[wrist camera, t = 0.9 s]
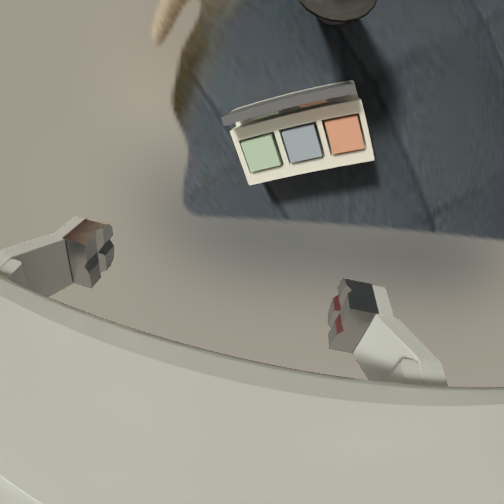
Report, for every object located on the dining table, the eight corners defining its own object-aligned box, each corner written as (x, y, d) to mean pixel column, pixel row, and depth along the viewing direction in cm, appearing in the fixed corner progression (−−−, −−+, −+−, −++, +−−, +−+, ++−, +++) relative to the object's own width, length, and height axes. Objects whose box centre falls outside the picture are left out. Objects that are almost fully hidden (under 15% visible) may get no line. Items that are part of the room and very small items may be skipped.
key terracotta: (355, 114, 30) (357, 116, 29) (362, 144, 32) (364, 148, 31) (324, 120, 32) (324, 123, 30) (332, 149, 33) (332, 154, 32)
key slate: (314, 122, 32) (313, 125, 30) (322, 151, 34) (322, 156, 32) (283, 129, 33) (281, 132, 32) (292, 157, 35) (290, 162, 34)
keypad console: (351, 79, 32) (359, 83, 25) (368, 147, 36) (377, 167, 29) (236, 108, 37) (216, 119, 30) (258, 170, 41) (244, 193, 35)
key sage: (273, 131, 34) (270, 135, 32) (282, 160, 36) (280, 165, 34) (244, 139, 35) (240, 143, 33) (254, 166, 37) (250, 172, 35)
